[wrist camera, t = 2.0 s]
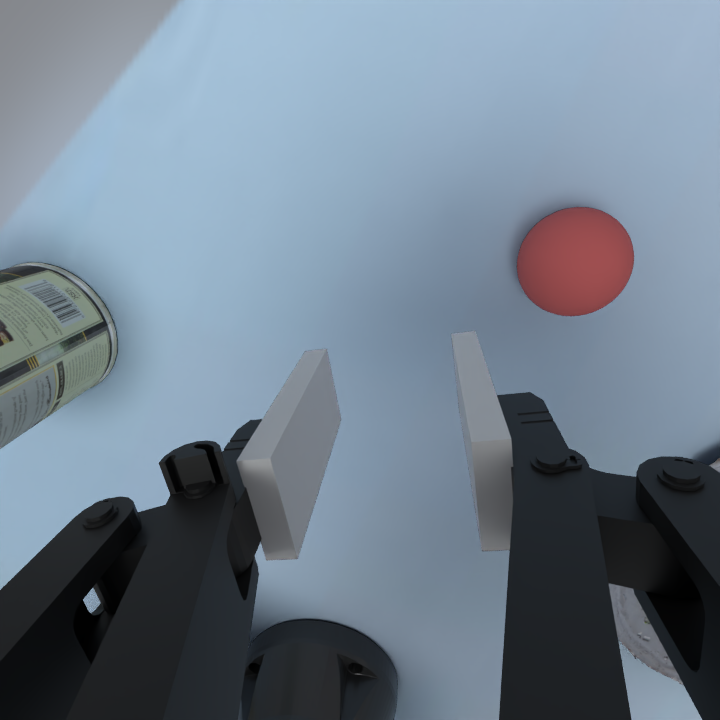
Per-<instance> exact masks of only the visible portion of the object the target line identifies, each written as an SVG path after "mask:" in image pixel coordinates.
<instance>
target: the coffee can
mask: <svg viewBox="0 0 720 720" xmlns="http://www.w3.org/2000/svg"><path fill="white" fill-rule="evenodd" d="M116 355H117V338H116V330H115V327H114V324H113V321H112V318H111V316H110V314H109V312H108V310H107V308H106V306H105V304H104V303H103V302H102V301H101V299H100V298H99V297H98V296H97V295H96V293H95V292H94V291H93V290H92V289H91V288H90V287H89V286H88V285H87V284H86V283H84V282H83V281H82V280H80V279H79V278H78V277H76V276H75V275H73V274H71V273H70V272H68V271H65V270H63V269H61V268H59V267H56V266H53V265H48V264H44V263H24V264H19V265H16V266H13V267H11V268H8V269H5V270H0V449H1V448H2V447H4V446H5V445H7V444H8V443H10V442H11V441H13V440H14V439H16V438H17V437H18V436H20V435H21V434H23V433H24V432H26V431H27V430H29V429H30V428H32V427H33V426H35V425H36V424H38V423H39V422H41V421H42V420H43V419H45V418H46V417H48V416H49V415H51V414H52V413H54V412H55V411H57V410H58V409H60V408H61V407H63V406H64V405H65V404H67V403H68V402H70V401H71V400H73V399H74V398H76V397H77V396H79V395H80V394H82V393H83V392H85V391H86V390H88V389H89V388H92V387H93V386H95V385H97V384H98V383H100V382H101V381H102V380H103V379H104V378H105V377H106V376H107V375H108V374H109V373H110V371H111V369H112V367H113V365H114V362H115V358H116Z"/></svg>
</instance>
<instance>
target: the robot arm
mask: <svg viewBox="0 0 720 720" xmlns="http://www.w3.org/2000/svg"><path fill="white" fill-rule="evenodd" d="M451 337H452V346H453V356H454V365H455V375H456V384H457V394H458V404H459V412H460V418H461V424H462V430H463V437H464V443H465V449H466V455H467V462H468V468H469V474H470V480H471V487H472V493H473V499H474V505H475V512H476V518H477V524H478V531H479V537H480V543H481V549H482V551H500V550H510V556H509V571H508V587H507V603H506V619H505V634H504V650H503V666H502V682H501V698H500V713H499V720H631V714H630V708H629V702H628V696H627V690H626V684H625V679H624V673H623V667H622V661H621V655H620V649H619V643H618V637H617V631H616V625H615V619H614V613H613V607H612V601H611V595H610V589H609V584H614V585H618V586H623V587H628V588H632V589H633V590H634V594H635V596H636V598H637V600H638V601H639V603H640V605H641V607H642V609H643V611H644V612H645V614H646V616H647V618H648V620H649V622H650V624H651V625H652V627H653V629H654V631H655V633H656V635H657V636H658V638H659V640H660V642H661V644H662V646H663V648H664V649H665V651H666V653H667V655H668V657H669V659H670V661H671V662H672V664H673V666H674V668H675V670H676V672H677V673H678V675H679V677H680V679H681V681H682V683H683V685H684V686H685V688H686V690H687V692H688V694H689V696H690V697H691V699H692V701H693V703H694V705H695V707H696V709H697V710H698V712H699V714H700V716H701V718H702V720H720V472H718V471H717V470H715V469H714V468H712V467H711V466H709V465H706V464H703V463H701V462H698V461H696V460H692V459H688V458H683V457H657V458H653V459H648V460H647V461H645V462H643V463H642V464H640V465H639V468H638V470H637V476H636V477H633V476H625V475H616V474H610V473H605V472H600V471H597V470H594V469H591V468H589V465H588V463H587V461H586V459H585V457H583V456H582V455H581V454H579V453H578V452H576V451H574V450H572V449H569V448H568V447H567V445H566V443H565V441H564V439H563V437H562V435H561V433H560V431H559V429H558V428H557V426H556V424H555V422H553V418H552V416H551V414H550V413H549V410H548V409H547V407H546V405H545V403H544V401H543V400H542V399H540V398H539V397H537V396H535V395H534V394H532V393H531V392H527V393H516V394H506V395H497V394H496V391H495V388H494V385H493V382H492V379H491V376H490V374H489V371H488V368H487V365H486V362H485V359H484V356H483V353H482V350H481V347H480V344H479V341H478V338H477V335H476V332H475V331H470V332H462V333H453V334H451ZM340 422H341V416H340V411H339V406H338V401H337V396H336V391H335V386H334V381H333V377H332V372H331V367H330V362H329V357H328V352H327V349H319V350H311V351H305V352H304V354H303V355H302V357H301V359H300V360H299V362H298V363H297V365H296V367H295V368H294V370H293V371H292V373H291V375H290V376H289V378H288V379H287V381H286V383H285V384H284V386H283V387H282V389H281V391H280V392H279V394H278V395H277V397H276V398H275V400H274V402H273V403H272V405H271V406H270V408H269V410H268V411H267V413H266V414H265V416H264V418H263V419H259V420H250V421H249V422H247V423H246V424H245V425H243V426H242V427H241V428H239V429H238V430H237V431H236V433H235V434H234V435H233V437H232V438H231V440H230V442H229V443H228V444H227V445H226V447H225V448H224V451H221V448H220V445H218V444H217V443H216V442H213V441H197V442H193V443H190V444H186V445H183V446H181V447H179V448H177V449H175V450H173V451H171V452H170V453H169V454H167V455H166V456H164V457H163V459H162V460H161V461H160V462H159V465H160V468H161V470H162V473H163V476H164V478H165V481H166V484H167V486H168V489H169V492H170V497H169V499H168V501H167V503H166V505H163V506H160V507H156V508H152V509H149V510H145V511H141V512H137V510H136V507H135V505H134V502H133V501H132V500H131V499H130V498H128V497H115V498H108V499H104V500H103V501H99V502H96V503H94V504H93V505H92V506H90V507H88V508H87V509H85V510H83V511H82V512H81V513H80V514H78V515H77V516H76V517H75V518H74V519H73V520H72V521H71V522H70V523H69V524H67V525H66V526H65V527H64V528H63V529H62V530H61V531H60V532H59V533H58V534H57V535H56V536H55V537H54V538H53V539H52V540H51V541H50V542H49V543H48V544H47V545H46V546H45V547H44V548H43V549H42V550H41V551H40V552H39V553H38V554H37V555H36V556H35V557H34V558H33V559H32V560H31V561H30V562H29V563H28V564H27V565H26V566H25V567H23V568H22V569H21V570H20V571H19V572H18V573H17V574H16V575H15V576H14V577H13V578H12V579H11V580H10V581H9V582H8V583H7V584H6V585H5V586H4V587H3V588H2V589H1V590H0V720H394V717H395V712H396V705H397V685H398V684H397V675H396V672H395V669H394V667H393V665H392V663H391V661H390V660H389V658H388V657H387V655H386V654H385V653H384V652H383V651H382V650H381V649H380V648H379V647H378V646H377V645H376V644H375V643H373V642H372V641H371V640H369V639H368V638H366V637H365V636H363V635H361V634H359V633H358V632H355V631H353V630H351V629H349V628H346V627H343V626H340V625H337V624H333V623H329V622H323V621H313V620H300V621H291V622H286V623H282V624H279V625H276V626H273V627H271V628H269V629H267V630H266V631H264V632H263V633H261V634H260V635H259V636H258V637H257V638H256V639H255V640H254V641H253V642H252V644H251V645H250V647H249V649H248V646H249V639H250V632H251V625H252V618H253V611H254V604H255V597H256V590H257V583H258V576H259V573H258V566H257V563H256V560H255V553H256V551H257V548H258V546H259V544H260V541H261V544H262V547H263V551H264V554H265V557H266V560H288V559H298V556H299V553H300V550H301V547H302V544H303V540H304V537H305V534H306V531H307V528H308V524H309V521H310V518H311V515H312V512H313V508H314V505H315V502H316V499H317V496H318V492H319V489H320V486H321V483H322V480H323V477H324V473H325V470H326V467H327V464H328V461H329V457H330V454H331V451H332V448H333V445H334V441H335V438H336V435H337V432H338V429H339V425H340ZM92 588H94V590H95V592H96V594H97V596H98V598H99V600H100V602H101V604H100V605H99V606H98V607H97V609H96V610H95V611H94V612H92V613H90V612H89V611H88V610H87V607H86V605H85V603H84V601H83V599H84V597H85V596H86V595H87V594H88V593H89V591H90V590H91V589H92Z"/></svg>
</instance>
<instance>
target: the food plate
mask: <svg viewBox="0 0 720 720" xmlns="http://www.w3.org/2000/svg"><path fill="white" fill-rule="evenodd" d="M709 466H711V467H712V468H714V469H715V470H717V471H718V472H720V458H718V459H717V460H716V462H714V463H712V464H710V465H709ZM609 589H610V595H611V601H612V607H613V613H614V619H615V625H616V631H617V637H618V639H619V641H621V642H622V644H623V645H624V646H625V647H626V648H627V649H628V650H629V651H630V652H631V653H632V655H633V656H634V657H635V659H637V658H639V659H640V661H642V662H643V663H645V664H646V665H647V666H648V667H650V668H651V669H653V670H655V671H657V672H660V673H661V674H662V675H665V676H667V677H670V678H672V679H673V680H675V681H678V682H679V683H680V684H682V685H683V683H682V681H681V679H680V677H679V675H678V673H677V672H676V670H675V668H674V666H673V664H672V662H671V661H670V659H669V657H668V655H667V653H666V651H665V649H664V648H663V646H662V644H661V642H660V640H659V638H658V636H657V635H656V633H655V631H654V629H653V627H652V625H651V624H650V622H649V620H648V618H647V616H646V614H645V612H644V611H643V609H642V607H641V605H640V603H639V601H638V600H637V598H636V596H635V594H634V590H633V589H632V588H628V587H623V586H618V585H614V584H609ZM636 657H637V658H636ZM643 663H642V664H643Z"/></svg>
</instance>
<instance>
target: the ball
mask: <svg viewBox="0 0 720 720" xmlns="http://www.w3.org/2000/svg"><path fill="white" fill-rule="evenodd" d="M633 264H634V251H633V246H632V242H631V239H630V237H629V235H628V233H627V231H626V230H625V228H624V227H623V226H622V225H621V224H620V223H619V222H618V221H617V220H616V219H615V218H613V217H612V216H611V215H609V214H607V213H605V212H603V211H600V210H597V209H593V208H587V207H574V208H567V209H563V210H560V211H557V212H555V213H553V214H551V215H549V216H547V217H545V218H544V219H542V220H541V221H540V222H538V223H537V224H536V225H535V226H534V227H533V228H532V229H531V230H530V232H529V233H528V234H527V236H526V237H525V239H524V241H523V243H522V245H521V247H520V250H519V254H518V259H517V273H518V278H519V282H520V284H521V287H522V289H523V290H524V292H525V294H526V295H527V296H528V298H529V299H530V300H531V301H532V302H533V303H535V304H536V305H537V306H539V307H540V308H542V309H543V310H546V311H548V312H550V313H554V314H557V315H562V316H579V315H584V314H588V313H592V312H594V311H597V310H599V309H601V308H603V307H604V306H606V305H607V304H609V303H610V302H612V301H613V300H614V299H615V298H616V297H617V296H618V295H619V294H620V293H621V292H622V290H623V289H624V287H625V286H626V284H627V282H628V280H629V278H630V276H631V273H632V269H633Z"/></svg>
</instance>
